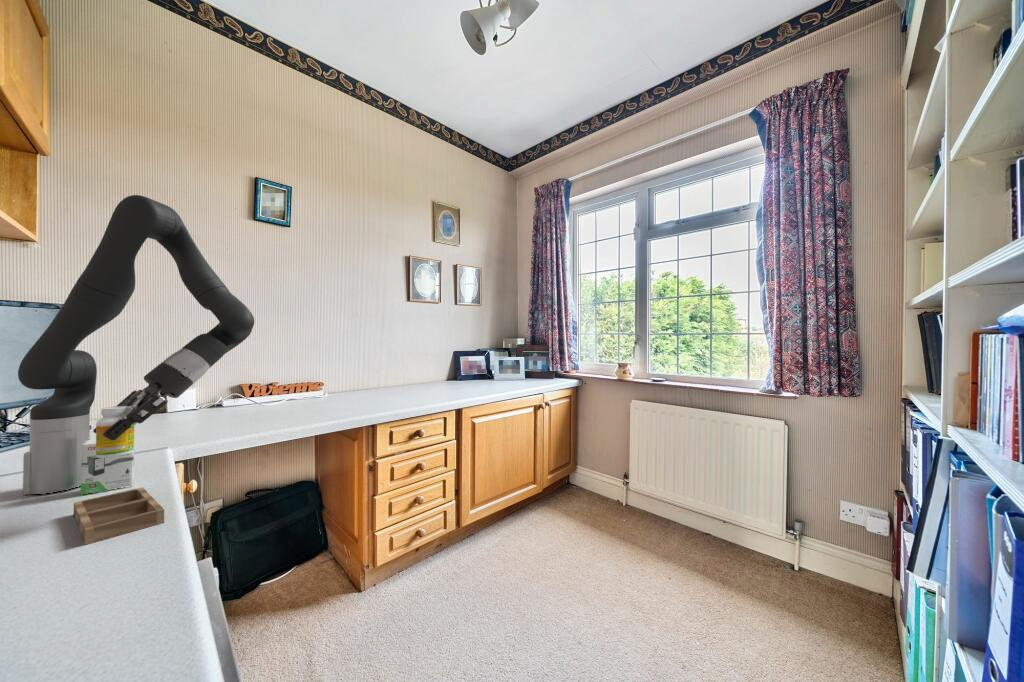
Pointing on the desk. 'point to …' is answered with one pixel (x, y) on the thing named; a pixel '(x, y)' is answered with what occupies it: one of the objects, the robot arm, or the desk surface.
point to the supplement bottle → (119, 445)
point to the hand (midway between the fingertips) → (102, 435)
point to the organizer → (116, 514)
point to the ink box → (104, 470)
